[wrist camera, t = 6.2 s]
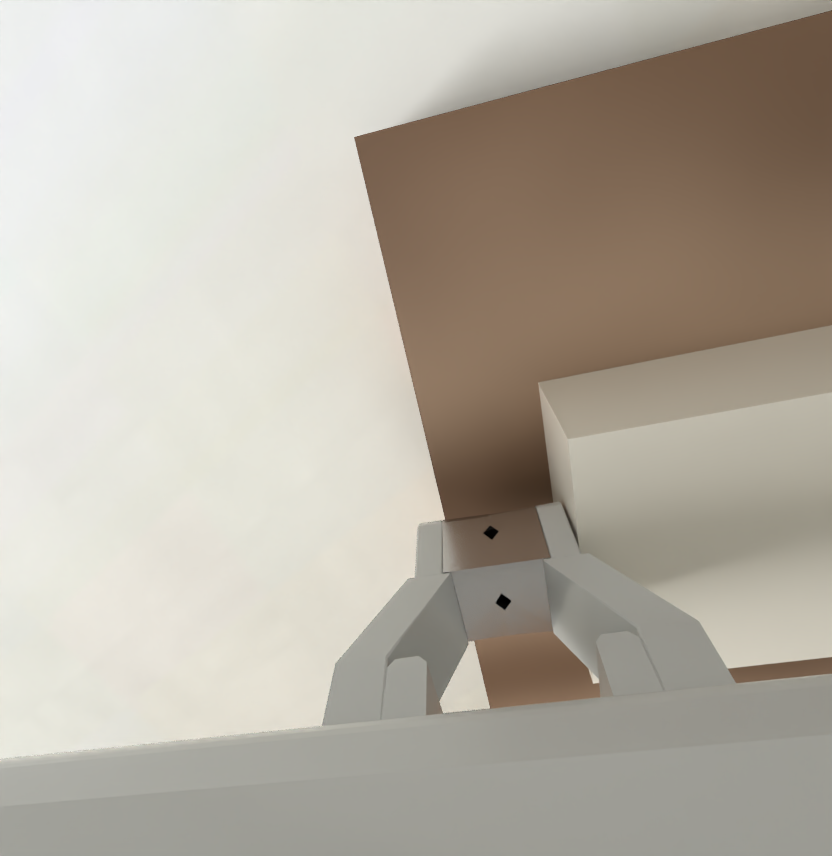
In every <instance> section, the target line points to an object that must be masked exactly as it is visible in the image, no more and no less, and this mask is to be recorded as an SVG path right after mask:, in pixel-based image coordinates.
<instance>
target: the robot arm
mask: <svg viewBox="0 0 832 856" xmlns="http://www.w3.org/2000/svg"><path fill="white" fill-rule="evenodd" d="M549 631H553V632H554V634H555V635H556V636H557V637H558V638H559V639H560V640H561V641H562V642H563V643H564V644H565V645H566V646H567V647H568V648H569V649H570V650H571V651H572V652H573V653H574V654H575V655H576V656H577V657H578V658H579V659H580V660H581V661H582V663H583V664H584V665H585V666H586V667H587V668H588V669H589V670H590V671H591V672H592V673H593V674H594V675H595V676H596V677H597V678H598V679H599V686H600V697H599V698H589V699H580V700H570V701H560V702H550V703H541V704H531V705H521V706H511V707H502V708H492V709H482V710H472V711H463V712H453V713H443V712H442V709H441V706H440V702H439V701H440V699H441V697H442V695H443V693H444V691H445V689H446V687H447V685H448V683H449V681H450V679H451V677H452V675H453V673H454V671H455V669H456V667H457V665H458V664H459V662H460V660H461V658H462V656H463V654H464V652H465V650H466V648H467V646H468V641H475V640H481V639H488V638H494V637H501V636H508V635H517V634H528V633H538V632H549ZM0 856H832V674H824V675H814V676H804V677H794V678H785V679H775V680H765V681H755V682H746V683H736V682H735V680H734V679H733V677H732V675H731V674H730V672H729V670H728V669H727V667H726V665H725V664H724V662H723V660H722V659H721V657H720V655H719V654H718V652H717V650H716V649H715V647H714V645H713V644H712V642H711V640H710V639H709V637H708V635H707V634H706V632H705V630H704V629H703V627H702V625H701V624H700V622H699V621H698V620H696V619H695V618H693V617H692V616H690V615H688V614H687V613H685V612H684V611H682V610H680V609H679V608H677V607H675V606H674V605H672V604H671V603H669V602H667V601H666V600H664V599H662V598H661V597H659V596H658V595H656V594H654V593H653V592H651V591H650V590H648V589H646V588H645V587H643V586H641V585H640V584H638V583H637V582H635V581H633V580H632V579H630V578H629V577H627V576H625V575H624V574H622V573H620V572H619V571H617V570H616V569H614V568H612V567H611V566H609V565H607V564H606V563H604V562H603V561H601V560H599V559H598V558H596V557H595V556H593V555H591V554H590V553H585V554H581V552H580V549H579V547H578V544H577V542H576V539H575V537H574V534H573V531H572V529H571V526H570V524H569V521H568V519H567V516H566V514H565V511H564V509H563V506H562V504H561V503H560V502H554V503H548V504H543V505H538V506H535V507H531V508H525V509H519V510H512V511H506V512H500V513H494V514H485V515H477V516H470V517H462V518H455V519H447V520H443V521H434V522H428V523H421V524H419V527H418V532H417V549H416V566H415V578H410V579H407V581H406V582H405V583H404V584H403V585H402V586H401V588H400V589H399V590H398V591H397V592H396V593H395V595H394V596H393V597H392V598H391V599H390V601H389V602H388V603H387V604H386V605H385V606H384V608H383V609H382V610H381V611H380V612H379V613H378V615H377V616H376V617H375V618H374V619H373V620H372V622H371V623H370V624H369V625H368V626H367V627H366V629H365V630H364V631H363V632H362V633H361V635H360V636H359V637H358V638H357V639H356V640H355V642H354V643H353V644H352V645H351V646H350V647H349V649H348V650H347V651H346V652H345V653H344V654H343V656H342V657H341V658H340V659H339V660H338V662H337V663H336V664H335V669H334V673H333V678H332V682H331V687H330V692H329V696H328V701H327V706H326V710H325V715H324V719H323V724H322V726H317V727H308V728H298V729H288V730H278V731H269V732H259V733H249V734H239V735H229V736H220V737H210V738H200V739H190V740H181V741H171V742H161V743H151V744H142V745H132V746H122V747H112V748H103V749H93V750H83V751H73V752H64V753H54V754H44V755H34V756H25V757H15V758H5V759H0Z"/></svg>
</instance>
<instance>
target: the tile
mask: <svg viewBox="0 0 832 856" xmlns="http://www.w3.org/2000/svg"><path fill="white" fill-rule="evenodd" d="M538 385H539V393H540V401H541V409H542V417H543V425H544V433H545V441H546V448H547V456H548V464H549V472H550V480H551V488H552V496H553V503H554V502H560V503H561V504H562V506H563V509H564V511H565V514H566V516H567V519H568V521H569V524H570V526H571V529H572V531H573V534H574V537H575V539H576V542H577V544H578V547H579V549H580V552H581V554H585V553H590V554H591V555H593V556H595V557H596V558H598V559H599V560H601V561H603V562H604V563H606V564H607V565H609V566H611V567H612V568H614V569H616V570H617V571H619V572H620V573H622V574H624V575H625V576H627V577H629V578H630V579H632V580H633V581H635V582H637V583H638V584H640V585H641V586H643V587H645V588H646V589H648V590H650V591H651V592H653V593H654V594H656V595H658V596H659V597H661V598H662V599H664V600H666V601H667V602H669V603H671V604H672V605H674V606H675V607H677V608H679V609H680V610H682V611H684V612H685V613H687V614H688V615H690V616H692V617H693V618H695V619H696V620H698V621H699V622H700V624H701V625H702V627H703V629H704V630H705V632H706V634H707V635H708V637H709V639H710V640H711V642H712V644H713V645H714V647H715V649H716V650H717V652H718V654H719V655H720V657H721V659H722V660H723V662H724V664H725V665H726V667H727V669H729V668H738V667H746V666H755V665H764V664H773V663H782V662H791V661H800V660H809V659H818V658H827V657H832V325H830V326H825V327H820V328H815V329H810V330H804V331H799V332H794V333H789V334H784V335H779V336H774V337H769V338H763V339H758V340H753V341H748V342H743V343H738V344H733V345H728V346H722V347H717V348H712V349H707V350H702V351H697V352H692V353H687V354H681V355H676V356H671V357H666V358H661V359H656V360H651V361H646V362H640V363H635V364H630V365H625V366H620V367H615V368H610V369H605V370H599V371H594V372H589V373H584V374H579V375H574V376H569V377H564V378H558V379H553V380H548V381H543V382H538ZM589 672H590V675H591V678H592V682H593V684H594V683H599V679H598V678H597V677H596V676H595V675H594V674H593V673H592V672H591V671H590V670H589Z"/></svg>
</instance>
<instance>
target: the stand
mask: <svg viewBox="0 0 832 856" xmlns="http://www.w3.org/2000/svg"><path fill="white" fill-rule="evenodd" d="M354 138H355V142H356V147H357V151H358V155H359V159H360V163H361V168H362V172H363V176H364V180H365V184H366V189H367V193H368V197H369V201H370V205H371V210H372V214H373V218H374V222H375V226H376V231H377V235H378V239H379V243H380V247H381V252H382V256H383V260H384V264H385V268H386V273H387V277H388V281H389V285H390V289H391V294H392V298H393V302H394V306H395V310H396V314H397V319H398V323H399V327H400V331H401V335H402V340H403V344H404V348H405V352H406V356H407V361H408V365H409V369H410V373H411V377H412V382H413V386H414V390H415V394H416V398H417V403H418V407H419V411H420V415H421V419H422V424H423V428H424V432H425V436H426V440H427V445H428V449H429V453H430V457H431V461H432V466H433V470H434V474H435V478H436V482H437V486H438V491H439V495H440V499H441V503H442V507H443V512H444V516H445V520H447V519H455V518H462V517H470V516H477V515H485V514H494V513H500V512H506V511H512V510H519V509H525V508H531V507H535V506H538V505H543V504H548V503H553V496H552V488H551V480H550V472H549V464H548V456H547V448H546V441H545V433H544V425H543V417H542V409H541V401H540V393H539V385H538V382H543V381H548V380H553V379H558V378H564V377H569V376H574V375H579V374H584V373H589V372H594V371H599V370H605V369H610V368H615V367H620V366H625V365H630V364H635V363H640V362H646V361H651V360H656V359H661V358H666V357H671V356H676V355H681V354H687V353H692V352H697V351H702V350H707V349H712V348H717V347H722V346H728V345H733V344H738V343H743V342H748V341H753V340H758V339H763V338H769V337H774V336H779V335H784V334H789V333H794V332H799V331H804V330H810V329H815V328H820V327H825V326H830V325H832V11H828V12H824V13H820V14H817V15H813V16H809V17H805V18H802V19H798V20H794V21H790V22H787V23H783V24H779V25H775V26H771V27H768V28H764V29H760V30H756V31H753V32H749V33H745V34H741V35H738V36H734V37H730V38H726V39H722V40H719V41H715V42H711V43H707V44H704V45H700V46H696V47H692V48H689V49H685V50H681V51H677V52H673V53H670V54H666V55H662V56H658V57H655V58H651V59H647V60H643V61H640V62H636V63H632V64H628V65H624V66H621V67H617V68H613V69H609V70H606V71H602V72H598V73H594V74H591V75H587V76H583V77H579V78H575V79H572V80H568V81H564V82H560V83H557V84H553V85H549V86H545V87H542V88H538V89H534V90H530V91H526V92H523V93H519V94H515V95H511V96H508V97H504V98H500V99H496V100H493V101H489V102H485V103H481V104H477V105H474V106H470V107H466V108H462V109H459V110H455V111H451V112H447V113H444V114H440V115H436V116H432V117H428V118H425V119H421V120H417V121H413V122H410V123H406V124H402V125H398V126H395V127H391V128H387V129H383V130H379V131H376V132H372V133H368V134H364V135H361V136H357V137H354ZM474 642H475V646H476V650H477V654H478V658H479V663H480V667H481V671H482V675H483V679H484V684H485V688H486V692H487V696H488V700H489V705H490V709H492V708H502V707H511V706H521V705H531V704H541V703H550V702H560V701H570V700H580V699H589V698H599V697H600V686H599V683H594V684H593V682H592V678H591V675H590V672H589V669H588V668H587V667H586V666H585V665H584V664H583V663H582V661H581V660H580V659H579V658H578V657H577V656H576V655H575V654H574V653H573V652H572V651H571V650H570V649H569V648H568V647H567V646H566V645H565V644H564V643H563V642H562V641H561V640H560V639H559V638H558V637H557V636H556V635H555V634H554V632H553V631H549V632H538V633H528V634H517V635H508V636H501V637H494V638H488V639H481V640H475V641H474ZM728 670H729V672H730V674H731V675H732V677H733V679H734V680H735V682H736V683H746V682H755V681H765V680H775V679H785V678H794V677H804V676H814V675H824V674H832V657H827V658H818V659H809V660H800V661H791V662H782V663H773V664H764V665H755V666H746V667H738V668H729V669H728Z"/></svg>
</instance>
